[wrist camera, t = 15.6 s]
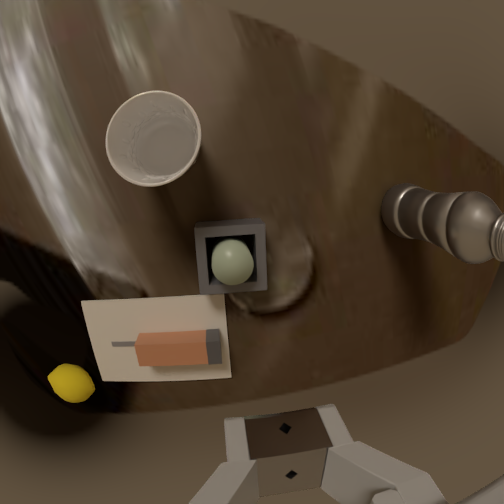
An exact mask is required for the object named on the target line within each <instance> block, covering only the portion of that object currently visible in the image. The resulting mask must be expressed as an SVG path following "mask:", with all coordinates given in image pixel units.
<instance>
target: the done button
mask: <svg viewBox="0 0 504 504" xmlns="http://www.w3.org/2000/svg"><path fill="white" fill-rule="evenodd" d="M253 267H254V262H253V258H252V256H251V253H250V251H249V249H248V247H247V244H246V243H245V241H244V240H243V239H242V238H240V237H238V236H236V235H233V236H223V237H221V238H219V239H218V240H217V241H216V242H215V244H214V246H213V249H212V271H213V273H214V275H215V277H216V278H217V279H218V280H219V281H220V282H222V283H224V284H227V285H238V284H241V283H243V282H245V281H246V280H247V279H248V278H249V277H250V275H251V274H252V272H253Z"/></svg>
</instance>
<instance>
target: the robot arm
mask: <svg viewBox="0 0 504 504" xmlns="http://www.w3.org/2000/svg"><path fill="white" fill-rule="evenodd" d="M224 425H225V438H226V452H227V462H224V463H221V464H220V465H219V467H218V468H217V469H216V470H215V472H214V473H213V474H212V475H211V477H210V478H209V479H208V480H207V482H206V483H205V484H204V485H203V487H202V488H201V489H200V490H199V491H198V493H197V494H196V495H195V496H194V497H193V499H192V500H191V501H190V502H189V503H188V504H257V502H258V500H259V497H264V496H270V495H276V494H282V493H288V492H294V491H301V490H307V489H313V488H318V487H321V489H322V490H324V491H325V492H326V493H328V494H329V495H330V496H331V497H333V498H334V499H335V500H337V501H338V502H340V503H341V504H448V502H447V501H446V499H445V498H444V496H443V495H442V493H441V492H440V490H439V489H438V487H437V486H436V484H435V483H434V481H433V480H432V478H431V477H430V475H429V474H428V473H426V472H424V471H422V470H419V469H417V468H415V467H413V466H410V465H408V464H406V463H404V462H401V461H399V460H397V459H395V458H393V457H391V456H389V455H387V454H385V453H382V452H380V451H378V450H376V449H374V448H372V447H370V446H368V445H366V444H364V443H362V442H360V441H356V442H354V441H353V439H352V437H351V435H350V433H349V431H348V430H347V428H346V426H345V424H344V422H343V420H342V418H341V416H340V414H339V412H338V410H337V408H336V407H335V405H334V404H329V405H324V406H318V407H315V408H309V409H302V410H296V411H290V412H284V413H277V414H268V415H256V416H244V418H243V417H234V418H225V421H224ZM455 504H504V474H503V475H502V476H500V477H499V478H497V479H496V480H494V481H493V482H491V483H489V484H488V485H487V486H485V487H483V488H481V489H480V490H478V491H477V492H475V493H473V494H471V495H470V496H468V497H466V498H465V499H463V500H461V501H459V502H457V503H455Z"/></svg>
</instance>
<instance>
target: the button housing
mask: <svg viewBox="0 0 504 504" xmlns="http://www.w3.org/2000/svg"><path fill="white" fill-rule="evenodd" d="M194 233H195V245H196V257H197V267H198V278H199V288H200V295H209V294H222V293H236V292H248V291H260V290H267V266H266V238H265V223H264V222H263V221H262V220H261V219H260V218H250V219H235V220H220V221H205V222H196V224H195V227H194ZM248 234H251V239H252V258H253V262H254V267H253V272H252V274H251V275H250V277H249V278H248V279H247V280H246V281H245V282H243V283H241V284H238V285H227V284H224V283H222V282H220V281H219V280H218V279H217V278H216V277H215V275H214V273H211V274H209V262H208V250H207V237H219V236H233V235H248Z"/></svg>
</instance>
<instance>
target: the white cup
mask: <svg viewBox="0 0 504 504" xmlns="http://www.w3.org/2000/svg"><path fill="white" fill-rule="evenodd" d="M200 148H201V127H200V122H199V119H198V117H197V115H196V113H195V111H194V110H193V108H192V107H191V106H190V105H189V104H188V103H187V102H186V101H185V100H184V99H182V98H181V97H179V96H177V95H175V94H173V93H170V92H166V91H148V92H144V93H141V94H138V95H136V96H134V97H132V98H130V99H129V100H127V101H126V102H125V103H124V104H122V105H121V106H120V107H119V109H118V110H117V111H116V112H115V114H114V115H113V117H112V119H111V121H110V123H109V126H108V129H107V133H106V151H107V155H108V158H109V161H110V163H111V165H112V167H113V168H114V169H115V171H116V172H117V173H118V174H119V175H120V176H121V177H122V178H124V179H125V180H127V181H129V182H131V183H133V184H136V185H139V186H145V187H154V186H161V185H164V184H167V183H170V182H172V181H174V180H175V179H177V178H179V177H181V176H182V175H184V174H185V173H186V172H187V171H188V170H190V169H191V167H192V166H193V165H194V163H195V162H196V160H197V158H198V155H199V152H200Z"/></svg>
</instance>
